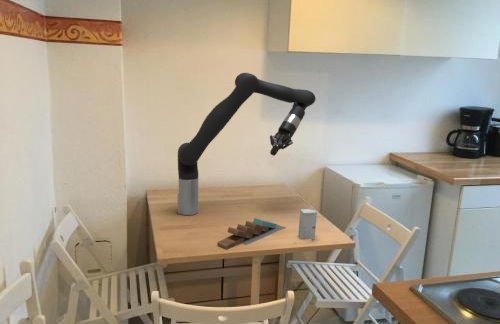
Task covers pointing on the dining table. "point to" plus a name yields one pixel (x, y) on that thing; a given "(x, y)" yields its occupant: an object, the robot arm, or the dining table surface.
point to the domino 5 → (264, 223)
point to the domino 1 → (231, 241)
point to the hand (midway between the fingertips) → (272, 154)
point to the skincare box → (307, 224)
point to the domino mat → (262, 234)
